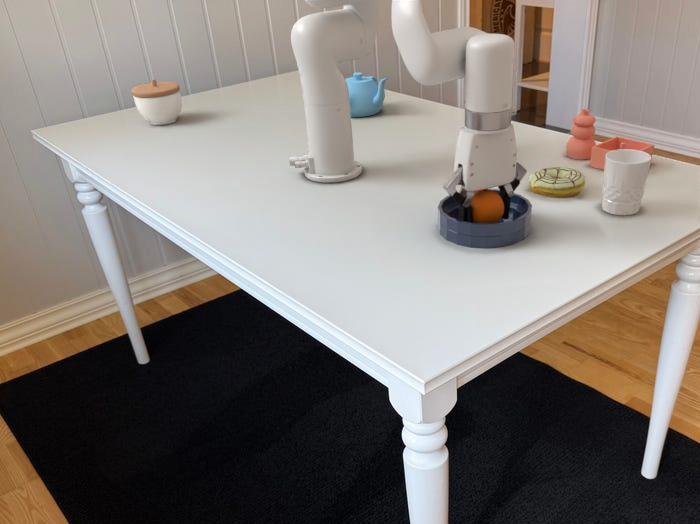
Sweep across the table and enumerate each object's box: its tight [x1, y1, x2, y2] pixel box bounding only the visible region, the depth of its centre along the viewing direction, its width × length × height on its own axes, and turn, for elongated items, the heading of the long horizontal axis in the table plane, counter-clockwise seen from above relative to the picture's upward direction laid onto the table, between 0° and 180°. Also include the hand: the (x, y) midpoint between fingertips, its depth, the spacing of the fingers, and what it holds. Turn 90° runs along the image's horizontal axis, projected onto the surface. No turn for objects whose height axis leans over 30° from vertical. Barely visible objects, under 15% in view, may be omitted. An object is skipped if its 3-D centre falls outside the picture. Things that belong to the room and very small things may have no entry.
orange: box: [470, 188, 504, 224], centre depth 119 cm, size 7×7×7 cm
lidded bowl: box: [130, 78, 183, 126], centre depth 186 cm, size 13×13×11 cm
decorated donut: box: [528, 166, 586, 199], centre depth 135 cm, size 10×11×4 cm
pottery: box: [565, 108, 655, 171], centre depth 147 cm, size 18×10×10 cm, turn 43°
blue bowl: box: [437, 188, 533, 249], centre depth 121 cm, size 16×16×5 cm
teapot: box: [344, 71, 389, 118], centre depth 186 cm, size 15×15×10 cm
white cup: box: [601, 149, 652, 216], centre depth 125 cm, size 8×8×10 cm
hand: (484, 220), depth 121 cm, fingers closed on orange, 6 cm apart
